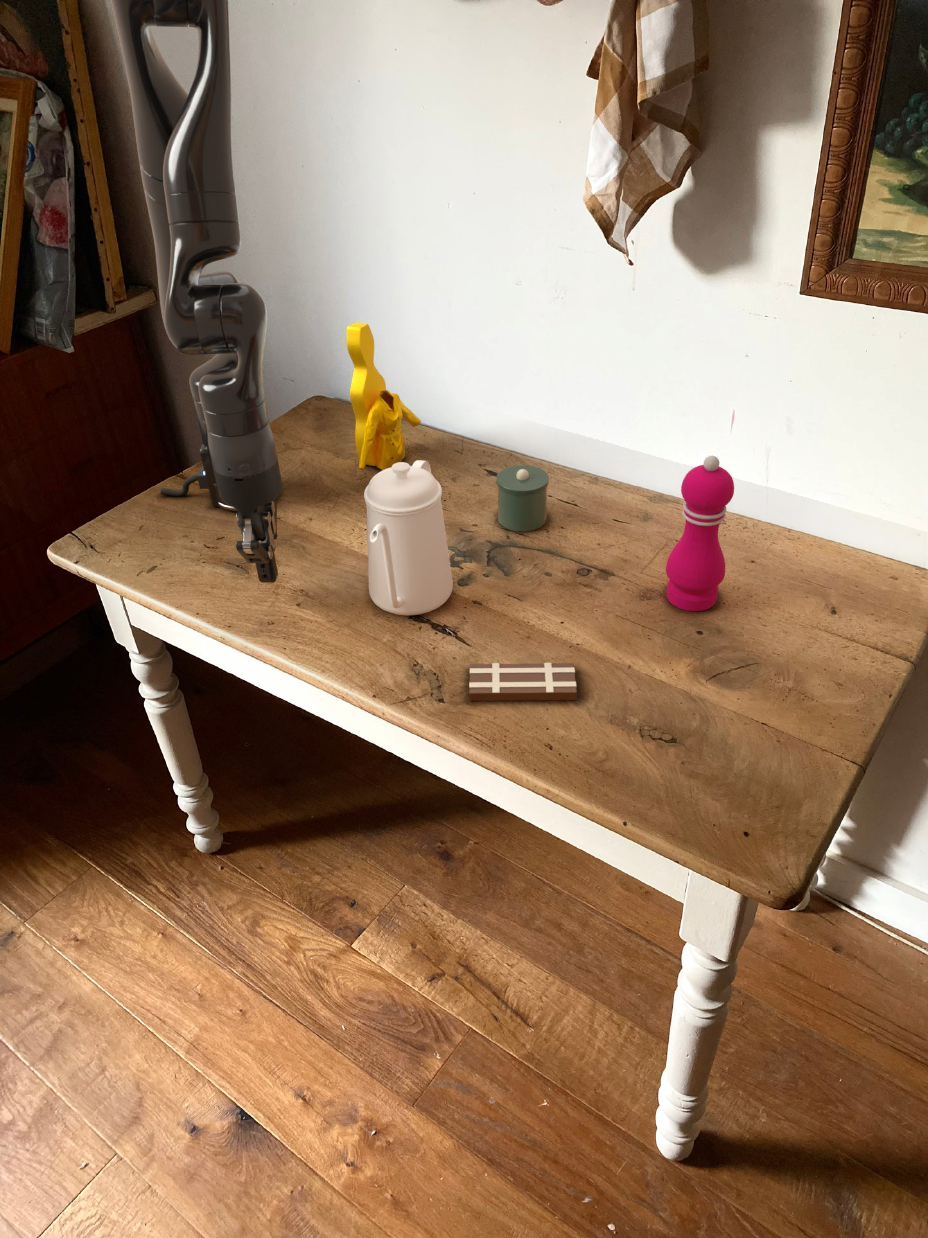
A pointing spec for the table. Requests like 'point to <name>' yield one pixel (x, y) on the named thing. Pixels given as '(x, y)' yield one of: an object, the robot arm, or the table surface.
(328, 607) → the table surface
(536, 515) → the canister
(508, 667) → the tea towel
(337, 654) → the table surface
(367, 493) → the coffeepot
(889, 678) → the table surface
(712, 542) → the pepper mill
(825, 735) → the table surface
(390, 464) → the figure statuette
